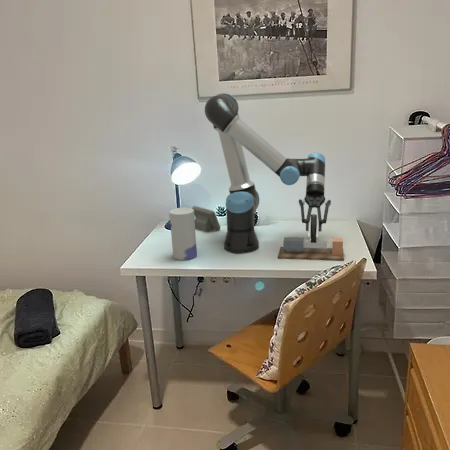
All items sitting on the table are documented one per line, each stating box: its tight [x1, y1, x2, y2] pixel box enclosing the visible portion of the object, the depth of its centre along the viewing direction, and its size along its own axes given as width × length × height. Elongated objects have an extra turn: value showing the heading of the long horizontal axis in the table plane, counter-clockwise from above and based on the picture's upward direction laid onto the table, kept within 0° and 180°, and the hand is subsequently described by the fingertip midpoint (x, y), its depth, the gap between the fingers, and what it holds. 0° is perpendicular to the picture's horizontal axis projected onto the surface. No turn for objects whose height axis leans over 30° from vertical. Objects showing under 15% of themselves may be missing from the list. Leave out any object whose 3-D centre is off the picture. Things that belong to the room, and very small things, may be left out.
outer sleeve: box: [282, 236, 305, 254], centre depth 207 cm, size 8×4×6 cm, turn 78°
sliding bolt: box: [303, 213, 328, 249], centre depth 204 cm, size 17×2×14 cm, turn 78°
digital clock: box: [191, 205, 221, 233], centre depth 243 cm, size 16×9×11 cm, turn 30°
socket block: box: [331, 236, 344, 256], centre depth 203 cm, size 4×5×6 cm
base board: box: [277, 246, 345, 262], centre depth 206 cm, size 26×11×1 cm, turn 78°
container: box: [169, 206, 198, 261], centre depth 209 cm, size 10×10×20 cm
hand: (313, 238), depth 200 cm, fingers closed on sliding bolt, 2 cm apart
